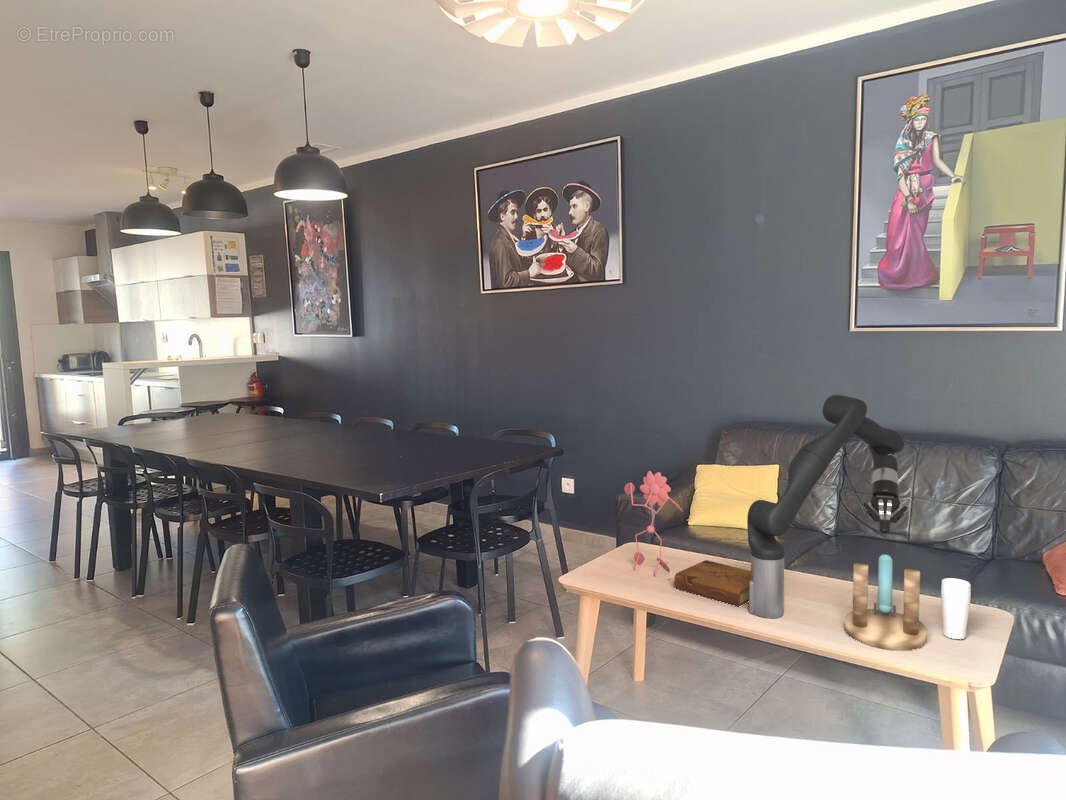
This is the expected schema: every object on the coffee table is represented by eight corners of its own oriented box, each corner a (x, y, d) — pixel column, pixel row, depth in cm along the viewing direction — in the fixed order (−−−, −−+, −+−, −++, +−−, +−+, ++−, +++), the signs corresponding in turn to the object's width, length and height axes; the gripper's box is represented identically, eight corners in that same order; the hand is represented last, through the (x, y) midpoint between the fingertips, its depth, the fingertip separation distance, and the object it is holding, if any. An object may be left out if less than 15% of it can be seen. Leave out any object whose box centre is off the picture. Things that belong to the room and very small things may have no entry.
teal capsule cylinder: (877, 611, 193) (878, 552, 199) (877, 613, 196) (878, 555, 202) (892, 613, 191) (892, 553, 197) (891, 615, 194) (892, 556, 200)
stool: (842, 642, 184) (843, 570, 182) (845, 614, 202) (847, 549, 200) (929, 656, 175) (931, 581, 173) (924, 626, 193) (926, 557, 191)
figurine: (673, 582, 231) (674, 479, 228) (614, 565, 250) (614, 469, 247) (700, 572, 241) (701, 473, 238) (641, 556, 260) (641, 464, 257)
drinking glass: (936, 636, 186) (938, 582, 184) (943, 629, 191) (945, 576, 189) (965, 644, 181) (967, 588, 180) (972, 636, 186) (974, 581, 184)
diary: (674, 591, 225) (674, 573, 225) (705, 576, 238) (705, 560, 238) (738, 609, 209) (738, 590, 208) (768, 592, 222) (768, 574, 221)
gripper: (862, 477, 222) (860, 524, 212) (909, 480, 216) (909, 528, 206) (862, 490, 227) (860, 536, 217) (908, 493, 221) (908, 541, 211)
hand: (884, 532), depth 212 cm, fingers closed
